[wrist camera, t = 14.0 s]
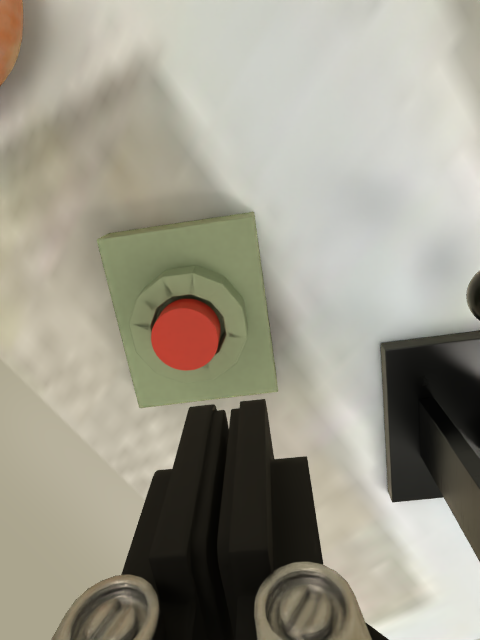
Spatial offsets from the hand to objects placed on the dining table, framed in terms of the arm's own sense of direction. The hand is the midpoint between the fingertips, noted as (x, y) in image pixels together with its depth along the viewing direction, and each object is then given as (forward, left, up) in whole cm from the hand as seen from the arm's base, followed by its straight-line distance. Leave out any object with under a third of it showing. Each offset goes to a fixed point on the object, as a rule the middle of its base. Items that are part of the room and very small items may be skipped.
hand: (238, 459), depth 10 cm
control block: (+2, -4, -19) cm, 20 cm away
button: (+2, -4, -16) cm, 16 cm away
